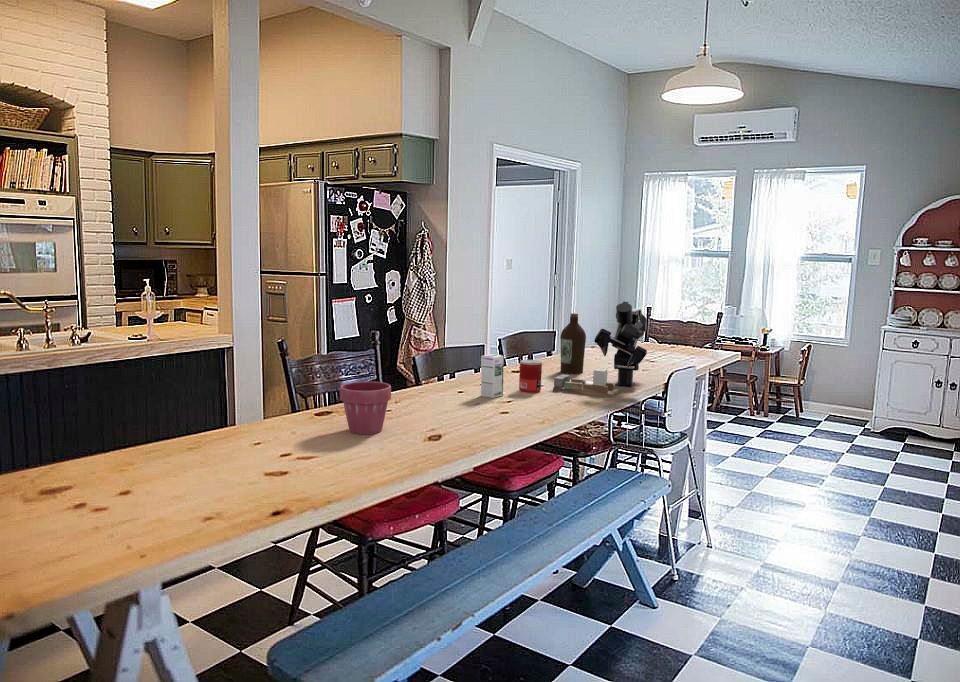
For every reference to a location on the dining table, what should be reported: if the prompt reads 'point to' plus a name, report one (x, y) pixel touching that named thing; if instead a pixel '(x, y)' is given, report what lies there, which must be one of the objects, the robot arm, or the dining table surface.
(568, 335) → the olive oil
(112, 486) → the dining table surface
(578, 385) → the gauge bench
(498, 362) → the syrup box
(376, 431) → the plant pot
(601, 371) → the pale grey cube box
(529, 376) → the canned food
